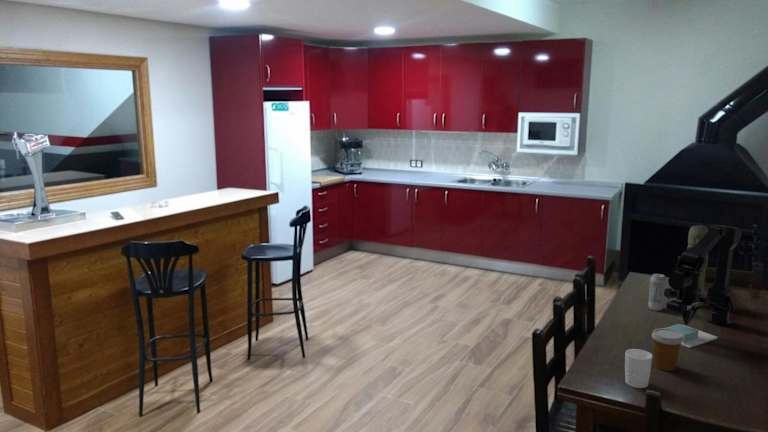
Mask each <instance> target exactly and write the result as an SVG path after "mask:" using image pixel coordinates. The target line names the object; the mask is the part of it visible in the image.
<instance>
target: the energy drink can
mask: <svg viewBox="0 0 768 432" xmlns="http://www.w3.org/2000/svg"><path fill="white" fill-rule="evenodd" d="M665 276H666V275H664V274H660V273H653V274H652V276H651V277H650V279H649V291H648V292H649V293H648V305H647V307H648V308H649V309H650V310H652V311H655V312H661V311H662V310H663V309H665V298H666V297H665V295H664V291H665V289H666V285H667V284H666V282H667V279H666V277H665Z"/></svg>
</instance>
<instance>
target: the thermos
mask: <svg viewBox="0 0 768 432" xmlns="http://www.w3.org/2000/svg"><path fill="white" fill-rule="evenodd" d="M689 228H690V229H689V231H688V235H687V244H688V245H687V249H688V248H690V247H694V246H695V245H696V244H697V243H698V242H699V241H700V240H701V238H702V237H703V236H704V235H705V234H706V233H707V232H708V230H709V228H708V227H707V226H705V225H701V224H700V225H699V224H694V225H692V226H691V227H689ZM687 249H686V250H687ZM706 260H707V261H706V262H705V265H704V266H703V268H702V270H703V272H701V273H700V280H699V288H701V291H700V292H698V294H701V295H705V296H706V294H705V290H704V288H705V279H706V270H707V268H708V264H709V263H708V261H709V253H708V254H707V255H706ZM684 267H687V266H684ZM689 268H691V267H689ZM697 305H698V307H701V308H703V306H704V302H700V303H697Z"/></svg>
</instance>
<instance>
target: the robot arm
mask: <svg viewBox="0 0 768 432" xmlns="http://www.w3.org/2000/svg"><path fill="white" fill-rule="evenodd" d="M741 238H742V231H741V230H740V228H739V227H736V226H735V227H734V226H728V225H722V224H721V225H719V224H711V225H710V226H709V228H708V232H707V233H706V234H705V235H704V236H703V237H702V238H701V240H700V241H699V242H698V243H697V244H696V245H695V246H694V247H690V248H688V249H685V251H683V252H682V253H681V255H680V257H679V258H678V261H677V263H676V265H675V267H674V270H675V271H674V272H673V273H674V274H671V275H670V276H669V278H668V279H667V281H668V282H667V283H668V285H669V287H670V288H665V291H664V295H665V298H667V300H668V301H667V302H666V303H665V309H667V310H670V311H673V312H676V313H679V314H681V317H682V320H683V323H684V324H683V325H685V326H688V325H689V324H690V323H691V322H692V320H693V318H694V317H695V316H696V315H697V313H698V312H699V311H700V310H701V309H702V307H698V305H697V303H700V302H703V306H707V307H712V309H711V311H712V312H711V318H709V319H707V322H709V323H712V324H715V325H717V326H718V325H719V326H720V327H721V326H722V327H724V326H728V325H731V324H732V323H733V322H732V321H730V320H729V315H730V312H731V313H732V312H735V310H736V307H737V304H736V302H735V300H734V299H733V291H732V288H731V286H730V285H729V283H730V276H731V269H732V263H733V255H734V249H735V248H736V247H737V246H738V245H739V243H740V240H741ZM716 245H717V247H718V251H717V252H718V253H717V261H716V269H715V270H716V271H715V274H714V275H715V278H714V283H713V284H712V285H711V286H710V287H708V289H707V294H705V295H701V294H698V292H700V291H701V288H699V280H700V273H701V272H703V270H702V268H703V266H704V265H705V262H706V261H707V260H706V255H707V254H708V255H709V253H710V251H711V250H712V249H713V248H714V246H716ZM685 266H687V267H685ZM689 267H691V268H689ZM671 299H673V300H671Z"/></svg>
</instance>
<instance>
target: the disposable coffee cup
mask: <svg viewBox="0 0 768 432" xmlns="http://www.w3.org/2000/svg"><path fill="white" fill-rule="evenodd" d="M664 328H665V327H663V328H661V327H660V328H655V329H654V330H653V331H652V333H651V338H652V346H653V349H652V350H653V363H654V367H655V368H657V369H659V370H661V371H668V372H670V371H675V369H676V364H677V361H678V358H679V354H680V351H681V346H682V345H681V343H682V341H683V338H682V334H681V333H679V332H677V331H675V330H671V329H664Z"/></svg>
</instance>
